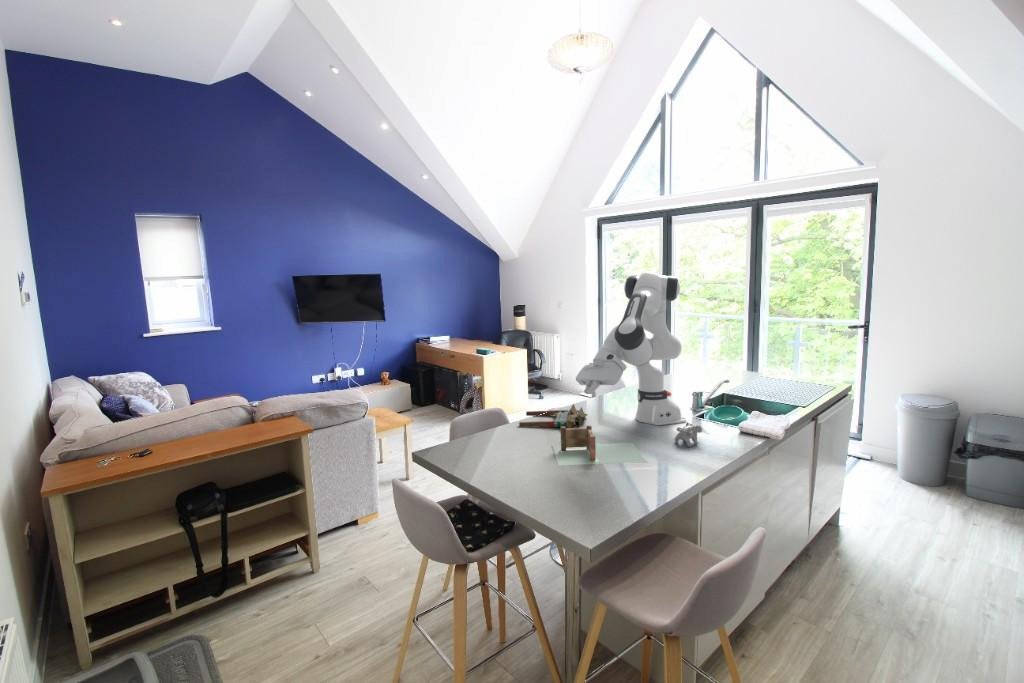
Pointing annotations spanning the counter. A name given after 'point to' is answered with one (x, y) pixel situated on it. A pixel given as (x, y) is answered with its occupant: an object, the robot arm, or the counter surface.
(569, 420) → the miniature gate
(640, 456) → the card
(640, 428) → the counter surface
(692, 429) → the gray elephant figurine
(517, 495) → the counter surface
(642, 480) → the counter surface
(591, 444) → the fence panel
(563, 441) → the fence fixed
